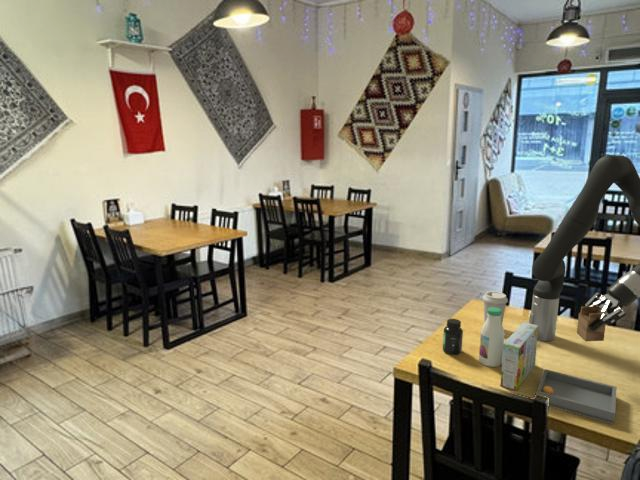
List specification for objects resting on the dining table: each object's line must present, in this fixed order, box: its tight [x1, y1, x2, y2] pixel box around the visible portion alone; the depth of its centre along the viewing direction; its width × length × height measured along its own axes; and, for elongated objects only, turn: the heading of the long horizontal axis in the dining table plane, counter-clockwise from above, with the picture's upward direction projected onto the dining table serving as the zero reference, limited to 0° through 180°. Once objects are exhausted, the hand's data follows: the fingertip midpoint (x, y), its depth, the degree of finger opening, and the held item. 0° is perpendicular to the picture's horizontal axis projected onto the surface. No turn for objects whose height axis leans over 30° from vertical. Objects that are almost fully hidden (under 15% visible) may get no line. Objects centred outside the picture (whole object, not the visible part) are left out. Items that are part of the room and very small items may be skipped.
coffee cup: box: [482, 291, 509, 324], centre depth 187 cm, size 10×10×15 cm
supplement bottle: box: [442, 318, 464, 356], centre depth 169 cm, size 7×7×12 cm
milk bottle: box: [478, 307, 505, 368], centre depth 160 cm, size 8×8×20 cm
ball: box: [542, 386, 553, 395], centre depth 140 cm, size 3×3×3 cm
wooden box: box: [576, 305, 607, 342], centre depth 147 cm, size 6×6×10 cm
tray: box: [535, 368, 618, 425], centre depth 139 cm, size 20×16×4 cm
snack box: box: [500, 321, 538, 391], centre depth 152 cm, size 21×6×15 cm, turn 141°
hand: (585, 324), depth 147 cm, fingers closed on wooden box, 5 cm apart
